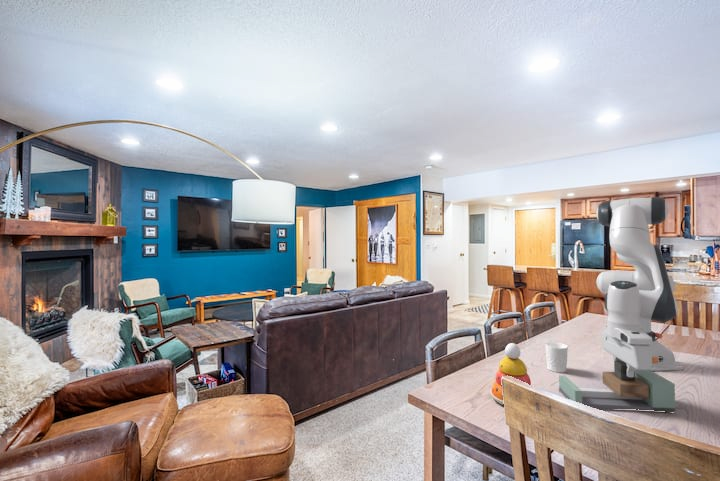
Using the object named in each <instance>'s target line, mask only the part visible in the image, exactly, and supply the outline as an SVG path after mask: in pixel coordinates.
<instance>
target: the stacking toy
mask: <svg viewBox="0 0 720 481" xmlns="http://www.w3.org/2000/svg"><path fill="white" fill-rule="evenodd" d="M504 354H505V355H506V356H505V357H503V358H502V359H501V360H500V362H499V364H498V370H497V371H496V373H495V380H494V382H493V383H492V386H491V388H490V392H489V393H490V396H491V398H493V400H494V401H495V402H497V403H499V405H503V395H502V385H501V378H502V376H507V375H508V376H512V377H514V378H516V379H519V380H521V381H523V382H526V383H528V384H529V385H531V386H532V383H531V381H532V380H531V378H530V375H529V374H528V369H527V366H526V364H525V362H524V361H523V360H522V359H520V357H521V349H520V347H519V346H518V344H516V343H514V342H511V343H508V344H507V345H506V346H505V349H504ZM503 406H504V405H503Z"/></svg>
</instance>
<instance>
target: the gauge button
mask: <svg viewBox="0 0 720 481" xmlns="http://www.w3.org/2000/svg"><path fill="white" fill-rule="evenodd" d="M653 363H659V358H658V357H655V356H652V367H651V368H653Z"/></svg>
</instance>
